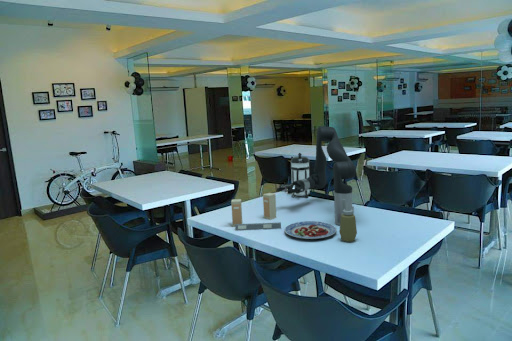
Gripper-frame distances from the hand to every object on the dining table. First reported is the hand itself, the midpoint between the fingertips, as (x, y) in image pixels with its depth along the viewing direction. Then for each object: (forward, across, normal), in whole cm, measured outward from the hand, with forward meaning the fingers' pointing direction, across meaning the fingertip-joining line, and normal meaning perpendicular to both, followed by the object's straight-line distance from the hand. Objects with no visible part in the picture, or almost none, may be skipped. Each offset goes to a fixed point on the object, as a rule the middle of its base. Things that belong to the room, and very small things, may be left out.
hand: (282, 191), depth 232 cm
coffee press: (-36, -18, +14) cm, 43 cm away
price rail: (+29, +10, +13) cm, 34 cm away
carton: (+12, 0, +13) cm, 18 cm away
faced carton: (+32, -4, +13) cm, 35 cm away
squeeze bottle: (+13, +54, +13) cm, 57 cm away
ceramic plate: (+16, +34, +13) cm, 40 cm away
